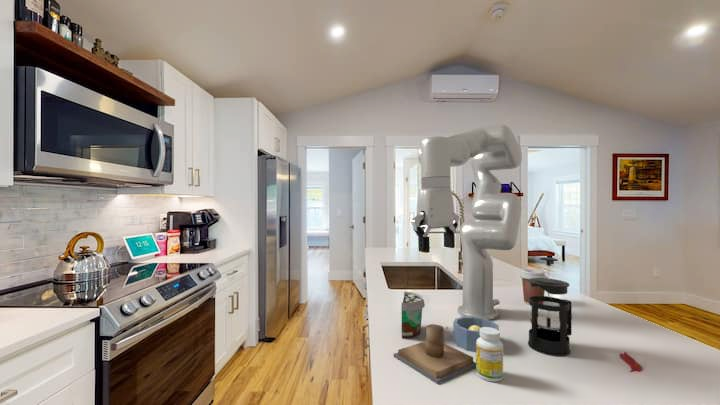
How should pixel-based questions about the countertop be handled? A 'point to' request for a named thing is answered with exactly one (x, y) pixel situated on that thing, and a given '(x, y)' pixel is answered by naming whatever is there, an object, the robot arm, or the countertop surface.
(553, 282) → the french press
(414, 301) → the food container
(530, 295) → the coffee cup
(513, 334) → the countertop surface
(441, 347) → the lid
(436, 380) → the mat
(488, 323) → the bowl
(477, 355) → the supplement bottle
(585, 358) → the countertop surface
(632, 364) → the cayenne pepper
